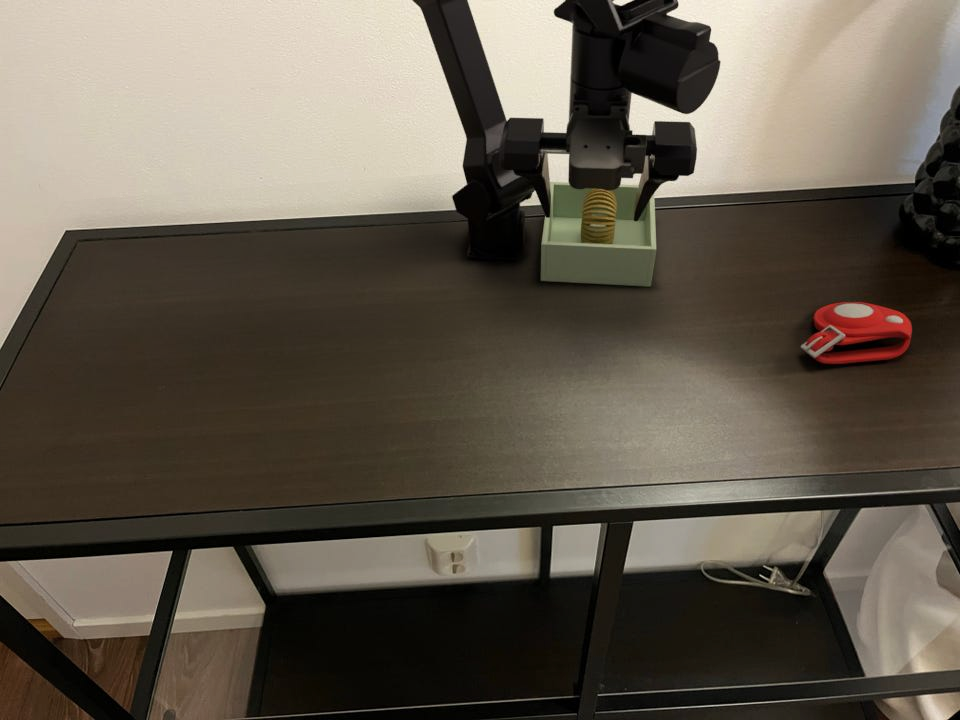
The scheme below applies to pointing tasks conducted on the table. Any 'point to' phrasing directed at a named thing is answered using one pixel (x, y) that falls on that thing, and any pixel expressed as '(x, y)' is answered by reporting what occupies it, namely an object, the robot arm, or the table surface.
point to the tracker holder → (857, 332)
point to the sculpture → (598, 217)
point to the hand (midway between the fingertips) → (591, 217)
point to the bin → (598, 262)
